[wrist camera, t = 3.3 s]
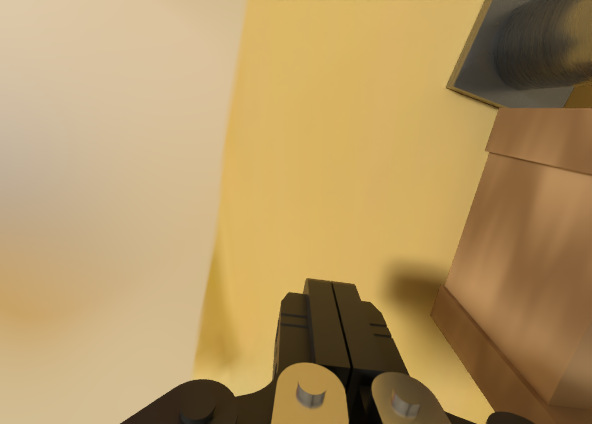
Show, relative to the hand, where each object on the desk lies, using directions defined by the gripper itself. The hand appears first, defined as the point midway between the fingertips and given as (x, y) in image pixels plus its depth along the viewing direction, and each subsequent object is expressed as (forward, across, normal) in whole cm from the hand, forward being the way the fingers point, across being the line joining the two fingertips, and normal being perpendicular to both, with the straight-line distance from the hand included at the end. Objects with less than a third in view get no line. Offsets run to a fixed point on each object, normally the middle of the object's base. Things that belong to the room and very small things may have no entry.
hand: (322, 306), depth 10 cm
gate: (+4, -7, -2) cm, 8 cm away
